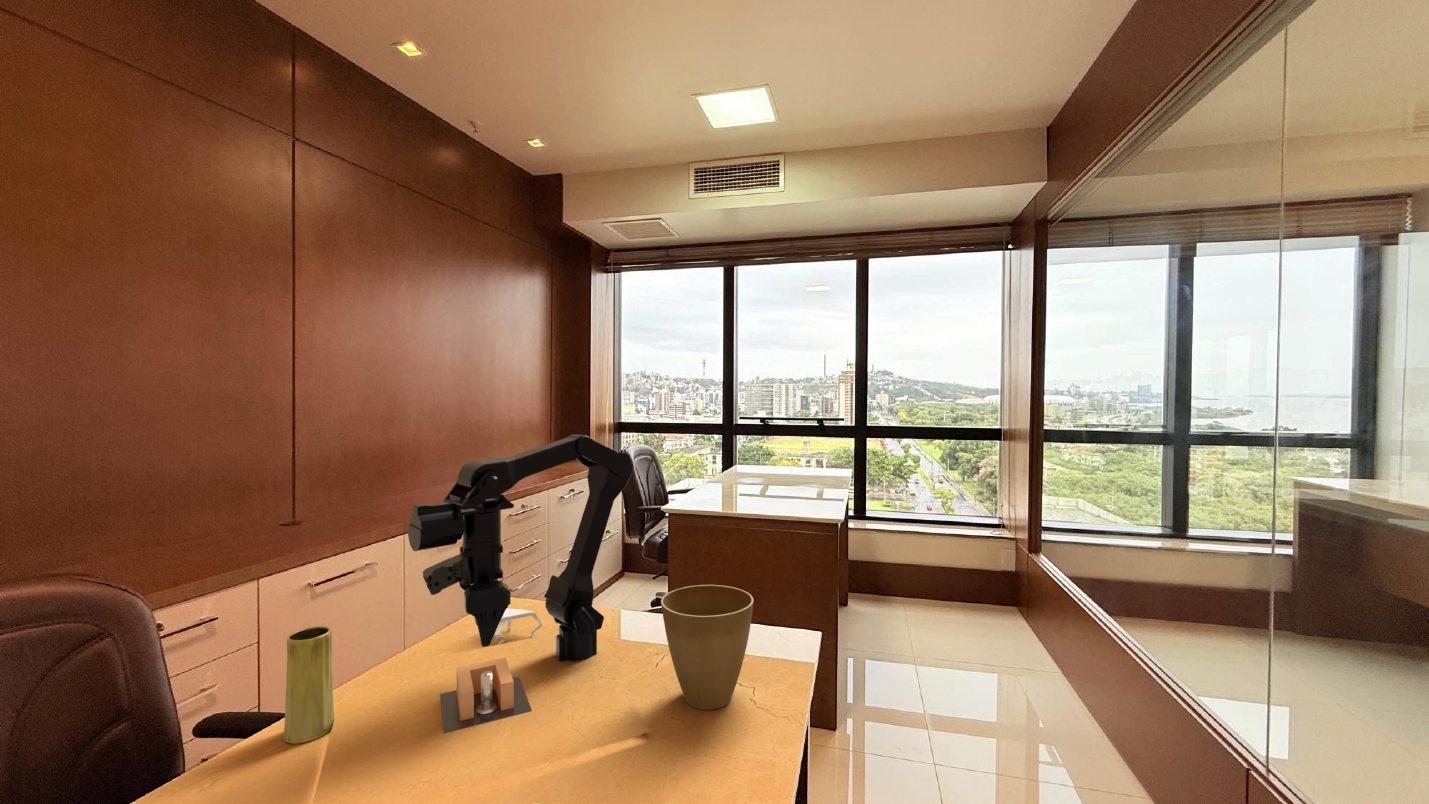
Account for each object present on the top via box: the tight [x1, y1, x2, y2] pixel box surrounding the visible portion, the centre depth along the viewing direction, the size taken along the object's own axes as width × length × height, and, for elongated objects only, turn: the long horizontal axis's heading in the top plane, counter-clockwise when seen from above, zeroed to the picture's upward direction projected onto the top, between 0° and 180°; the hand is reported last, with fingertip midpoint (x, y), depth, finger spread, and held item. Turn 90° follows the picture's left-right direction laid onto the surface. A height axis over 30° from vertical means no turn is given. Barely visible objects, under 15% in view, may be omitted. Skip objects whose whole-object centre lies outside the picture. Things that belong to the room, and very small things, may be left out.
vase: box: [282, 625, 335, 745], centre depth 80 cm, size 6×6×14 cm
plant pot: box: [660, 584, 754, 711], centre depth 89 cm, size 15×15×16 cm
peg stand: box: [440, 671, 533, 734], centre depth 86 cm, size 12×12×6 cm
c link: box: [456, 657, 514, 721], centre depth 87 cm, size 7×9×4 cm
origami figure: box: [493, 607, 544, 646], centre depth 112 cm, size 12×8×5 cm
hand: (482, 635), depth 90 cm, fingers open, 9 cm apart
